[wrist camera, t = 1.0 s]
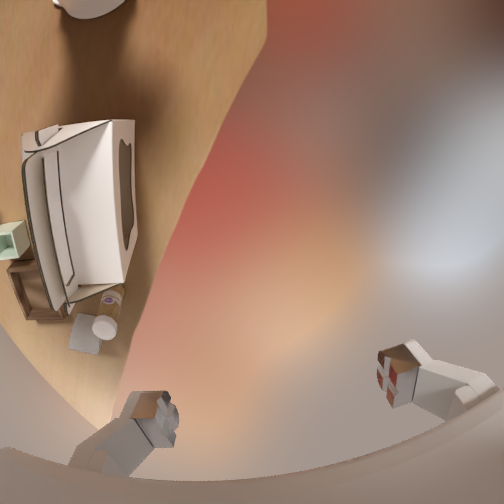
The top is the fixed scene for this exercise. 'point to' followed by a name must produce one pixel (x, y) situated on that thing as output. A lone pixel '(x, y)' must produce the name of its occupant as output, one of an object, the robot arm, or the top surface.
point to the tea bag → (84, 335)
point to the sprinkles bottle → (108, 313)
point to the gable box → (81, 206)
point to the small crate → (13, 239)
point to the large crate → (31, 291)
